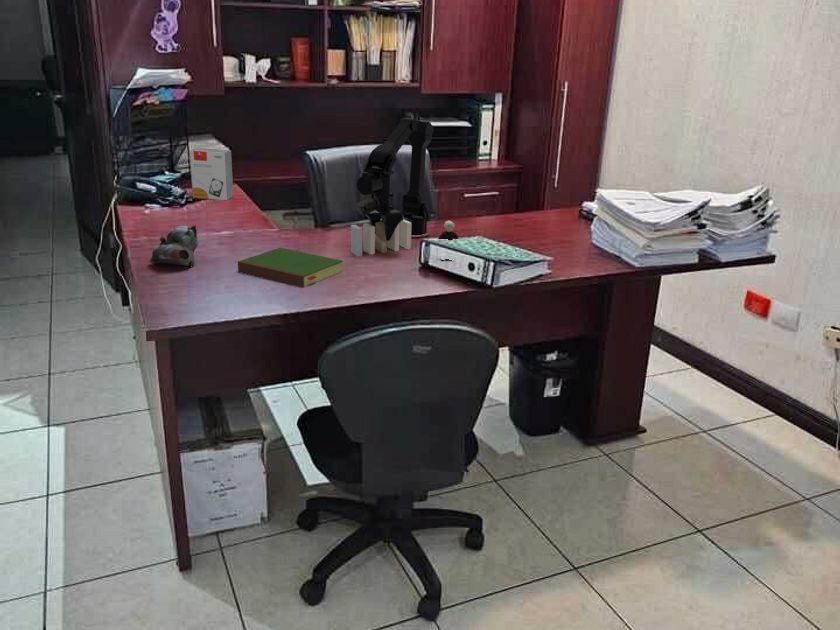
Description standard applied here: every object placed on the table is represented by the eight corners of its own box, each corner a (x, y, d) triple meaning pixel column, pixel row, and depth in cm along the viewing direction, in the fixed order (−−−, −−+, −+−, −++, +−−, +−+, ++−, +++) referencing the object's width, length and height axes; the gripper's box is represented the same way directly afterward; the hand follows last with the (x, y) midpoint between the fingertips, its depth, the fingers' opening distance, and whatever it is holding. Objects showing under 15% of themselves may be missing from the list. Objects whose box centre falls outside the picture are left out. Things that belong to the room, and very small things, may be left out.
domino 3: (379, 248, 244) (380, 222, 241) (386, 252, 240) (387, 225, 237) (375, 249, 244) (375, 222, 241) (382, 252, 240) (382, 225, 236)
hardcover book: (238, 273, 217) (237, 261, 215) (280, 259, 232) (280, 247, 230) (305, 289, 205) (304, 277, 204) (345, 273, 220) (345, 261, 219)
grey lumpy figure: (144, 262, 222) (156, 218, 224) (183, 273, 229) (194, 230, 230) (156, 260, 210) (169, 214, 211) (197, 272, 216) (209, 227, 218)
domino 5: (403, 245, 249) (404, 219, 246) (410, 249, 245) (411, 222, 242) (399, 246, 248) (399, 219, 245) (406, 249, 244) (407, 223, 241)
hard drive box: (192, 198, 309) (188, 150, 301) (200, 194, 316) (196, 147, 309) (227, 200, 306) (224, 152, 299) (234, 197, 313) (231, 149, 306)
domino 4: (391, 247, 247) (392, 220, 243) (399, 250, 243) (399, 224, 239) (387, 247, 246) (387, 221, 243) (394, 251, 242) (395, 224, 239)
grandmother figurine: (440, 262, 231) (441, 223, 227) (434, 259, 234) (435, 220, 230) (461, 259, 235) (463, 221, 230) (455, 256, 238) (457, 218, 233)
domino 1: (355, 251, 240) (355, 224, 237) (362, 255, 236) (362, 228, 233) (350, 252, 239) (350, 225, 236) (357, 256, 235) (357, 228, 232)
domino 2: (367, 250, 242) (367, 223, 239) (374, 254, 238) (374, 226, 235) (363, 250, 241) (363, 223, 238) (370, 254, 237) (370, 227, 234)
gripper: (346, 186, 238) (346, 233, 244) (372, 197, 224) (372, 247, 229) (377, 183, 244) (376, 229, 249) (404, 194, 229) (403, 243, 234)
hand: (381, 237), depth 240 cm, fingers open, 9 cm apart
